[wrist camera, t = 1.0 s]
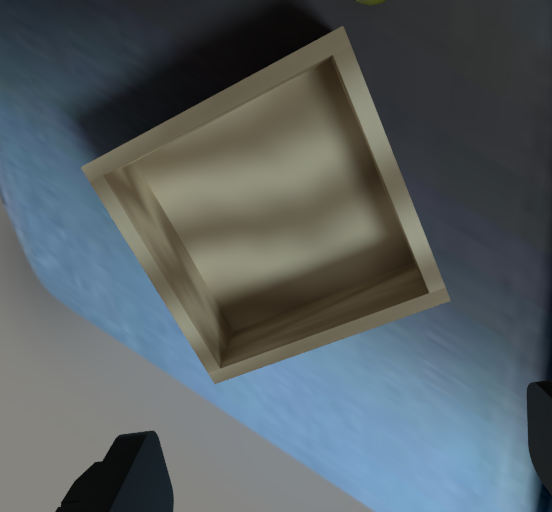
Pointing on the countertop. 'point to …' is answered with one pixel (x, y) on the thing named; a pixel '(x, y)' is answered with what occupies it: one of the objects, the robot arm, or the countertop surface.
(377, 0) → the lime
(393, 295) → the crate
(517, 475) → the countertop surface
